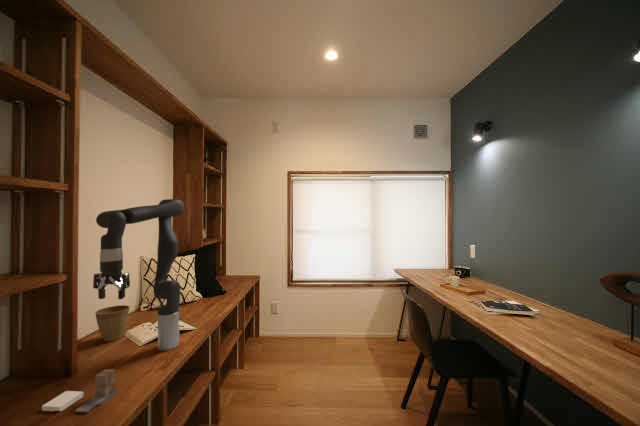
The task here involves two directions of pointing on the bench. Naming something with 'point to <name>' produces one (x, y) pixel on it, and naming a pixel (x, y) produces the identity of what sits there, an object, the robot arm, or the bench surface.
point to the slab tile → (62, 401)
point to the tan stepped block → (100, 389)
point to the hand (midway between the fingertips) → (111, 298)
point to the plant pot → (112, 321)
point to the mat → (108, 398)
